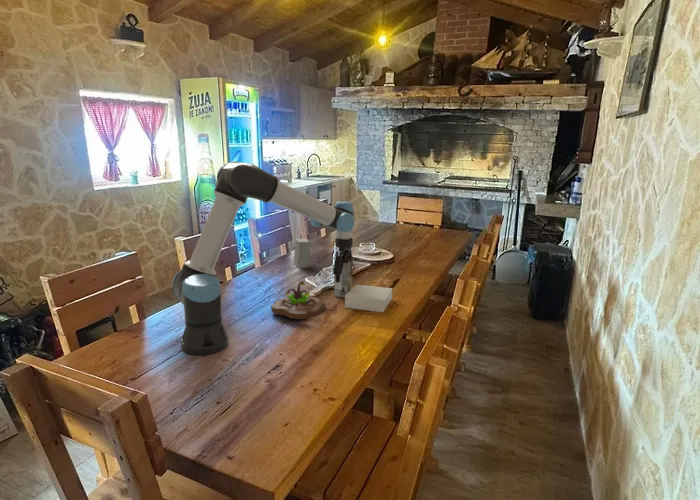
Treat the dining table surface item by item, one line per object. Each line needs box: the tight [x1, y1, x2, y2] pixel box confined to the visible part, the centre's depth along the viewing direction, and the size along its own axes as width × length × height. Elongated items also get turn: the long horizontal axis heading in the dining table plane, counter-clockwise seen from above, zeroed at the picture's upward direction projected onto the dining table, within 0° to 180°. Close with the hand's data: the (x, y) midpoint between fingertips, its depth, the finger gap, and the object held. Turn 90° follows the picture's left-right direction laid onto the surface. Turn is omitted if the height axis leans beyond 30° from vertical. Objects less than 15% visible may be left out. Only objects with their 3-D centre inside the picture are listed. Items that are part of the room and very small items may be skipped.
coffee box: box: [333, 256, 354, 298], centre depth 186 cm, size 9×6×16 cm
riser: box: [344, 283, 393, 313], centre depth 176 cm, size 16×16×5 cm
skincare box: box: [293, 237, 312, 269], centre depth 226 cm, size 8×7×16 cm
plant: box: [270, 280, 327, 320], centre depth 169 cm, size 20×20×11 cm
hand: (343, 284), depth 187 cm, fingers open, 13 cm apart
